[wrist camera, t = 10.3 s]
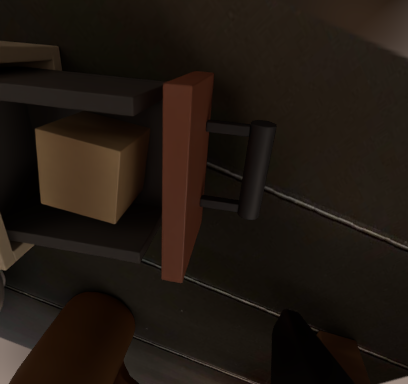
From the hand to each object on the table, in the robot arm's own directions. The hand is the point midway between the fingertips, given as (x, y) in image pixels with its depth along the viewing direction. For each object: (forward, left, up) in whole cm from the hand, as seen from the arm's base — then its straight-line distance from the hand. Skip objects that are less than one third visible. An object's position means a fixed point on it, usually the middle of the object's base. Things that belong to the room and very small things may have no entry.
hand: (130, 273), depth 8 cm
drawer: (+4, +1, -12) cm, 12 cm away
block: (+5, +1, -11) cm, 12 cm away
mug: (+4, +22, -13) cm, 26 cm away
